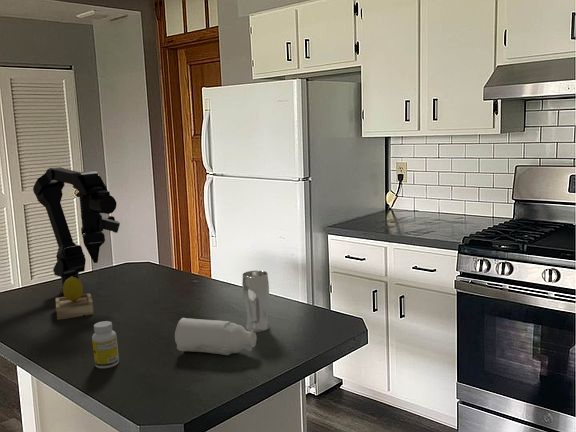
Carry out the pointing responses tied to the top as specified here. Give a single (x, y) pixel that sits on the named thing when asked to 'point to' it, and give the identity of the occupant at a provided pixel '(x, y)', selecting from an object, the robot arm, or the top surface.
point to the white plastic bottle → (213, 336)
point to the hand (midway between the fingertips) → (94, 259)
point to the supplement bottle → (105, 345)
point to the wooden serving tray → (74, 307)
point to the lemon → (72, 289)
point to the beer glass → (256, 299)
